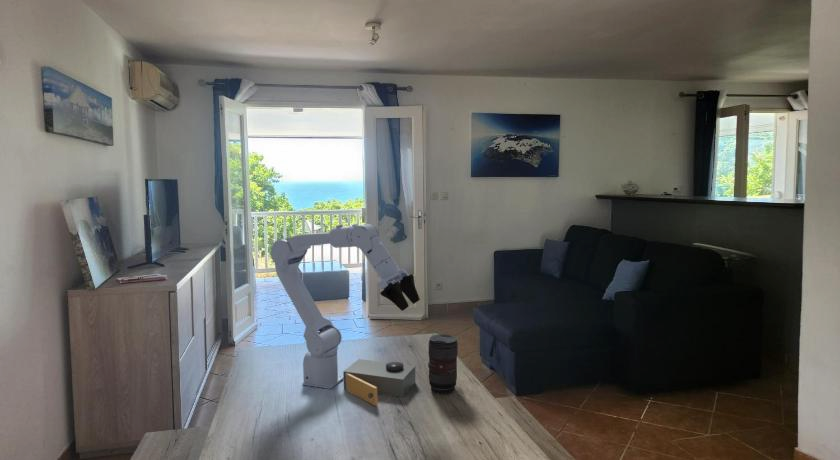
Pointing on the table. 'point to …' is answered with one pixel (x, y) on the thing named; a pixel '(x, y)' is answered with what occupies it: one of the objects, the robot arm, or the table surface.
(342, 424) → the table surface
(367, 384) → the side door
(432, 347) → the camera lens
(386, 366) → the camera housing
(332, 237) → the robot arm
